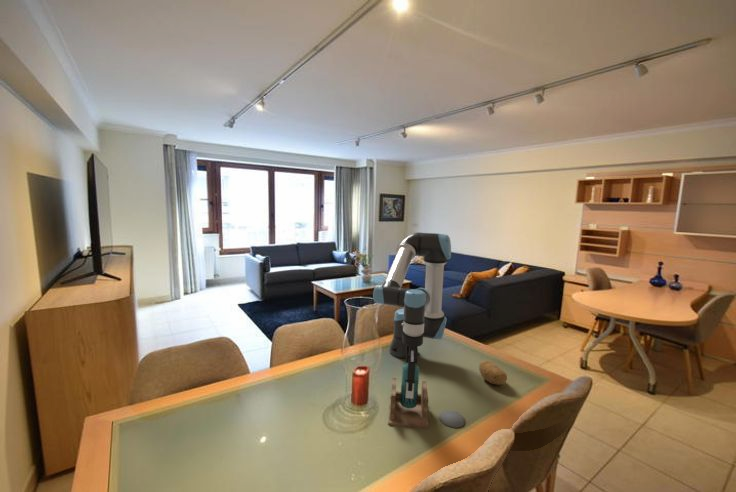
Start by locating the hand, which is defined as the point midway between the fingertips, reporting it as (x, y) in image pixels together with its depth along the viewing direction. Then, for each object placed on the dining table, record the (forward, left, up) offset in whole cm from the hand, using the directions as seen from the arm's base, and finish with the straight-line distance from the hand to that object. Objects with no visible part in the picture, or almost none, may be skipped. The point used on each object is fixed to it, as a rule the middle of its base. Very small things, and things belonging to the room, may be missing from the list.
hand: (409, 392), depth 119 cm
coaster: (+1, +16, -8) cm, 18 cm away
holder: (0, 0, -8) cm, 8 cm away
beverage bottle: (0, 0, -6) cm, 6 cm away
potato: (-29, +38, -8) cm, 49 cm away
